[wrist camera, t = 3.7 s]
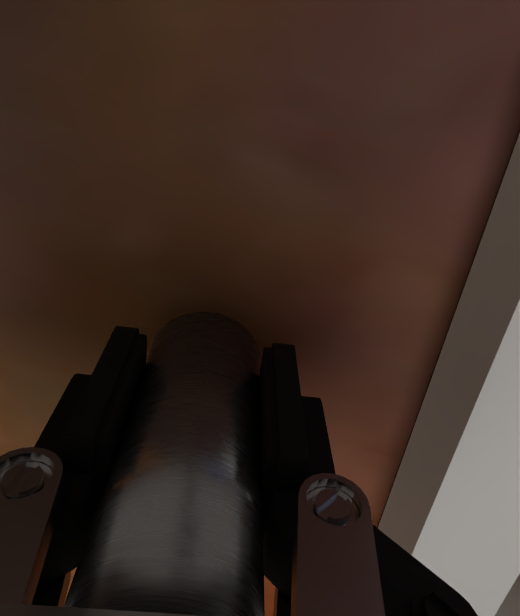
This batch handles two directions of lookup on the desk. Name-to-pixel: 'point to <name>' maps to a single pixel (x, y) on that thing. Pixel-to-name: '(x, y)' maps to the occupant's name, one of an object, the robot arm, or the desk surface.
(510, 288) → the pin board
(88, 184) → the desk surface
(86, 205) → the desk surface
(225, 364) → the steel pin
